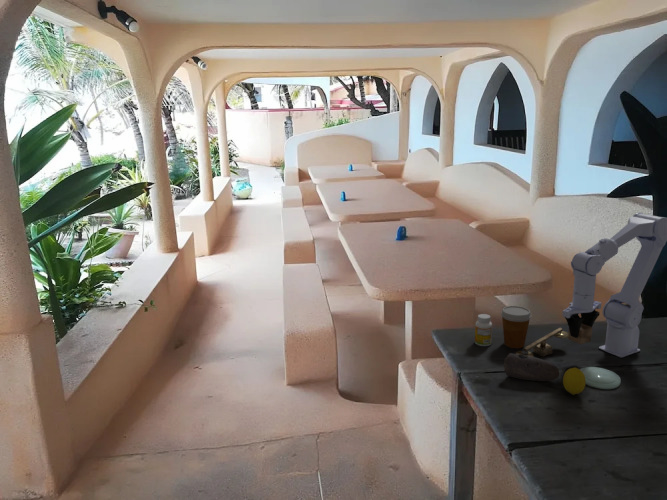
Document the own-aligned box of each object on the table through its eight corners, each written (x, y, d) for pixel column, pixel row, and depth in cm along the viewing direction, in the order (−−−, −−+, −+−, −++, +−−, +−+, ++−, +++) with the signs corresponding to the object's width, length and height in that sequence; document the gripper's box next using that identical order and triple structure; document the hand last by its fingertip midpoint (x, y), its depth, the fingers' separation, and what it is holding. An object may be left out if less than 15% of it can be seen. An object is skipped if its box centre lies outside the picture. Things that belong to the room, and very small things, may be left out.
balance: (558, 342, 173) (560, 324, 172) (571, 348, 169) (573, 329, 167) (512, 357, 164) (513, 337, 163) (524, 363, 160) (526, 343, 158)
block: (578, 335, 162) (579, 322, 161) (590, 341, 158) (592, 327, 157) (568, 339, 160) (569, 325, 159) (580, 344, 156) (582, 330, 155)
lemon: (578, 388, 145) (580, 362, 143) (588, 399, 139) (590, 372, 137) (558, 389, 145) (560, 363, 143) (567, 400, 139) (570, 373, 137)
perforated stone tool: (558, 378, 151) (560, 356, 149) (559, 387, 146) (560, 365, 144) (504, 371, 156) (505, 349, 154) (502, 379, 151) (504, 357, 150)
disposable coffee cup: (493, 344, 174) (495, 310, 170) (508, 335, 180) (510, 303, 177) (520, 353, 167) (522, 318, 164) (534, 344, 173) (537, 310, 170)
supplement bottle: (478, 338, 179) (479, 311, 176) (493, 342, 175) (495, 314, 173) (472, 344, 174) (473, 317, 172) (488, 348, 171) (489, 320, 169)
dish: (594, 366, 157) (594, 363, 156) (629, 382, 147) (629, 378, 147) (568, 376, 152) (569, 372, 151) (603, 392, 142) (603, 389, 142)
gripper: (588, 284, 162) (584, 325, 166) (555, 293, 156) (552, 335, 159) (609, 290, 156) (604, 333, 159) (575, 300, 150) (571, 343, 153)
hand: (579, 334), depth 159 cm, fingers closed on block, 4 cm apart
